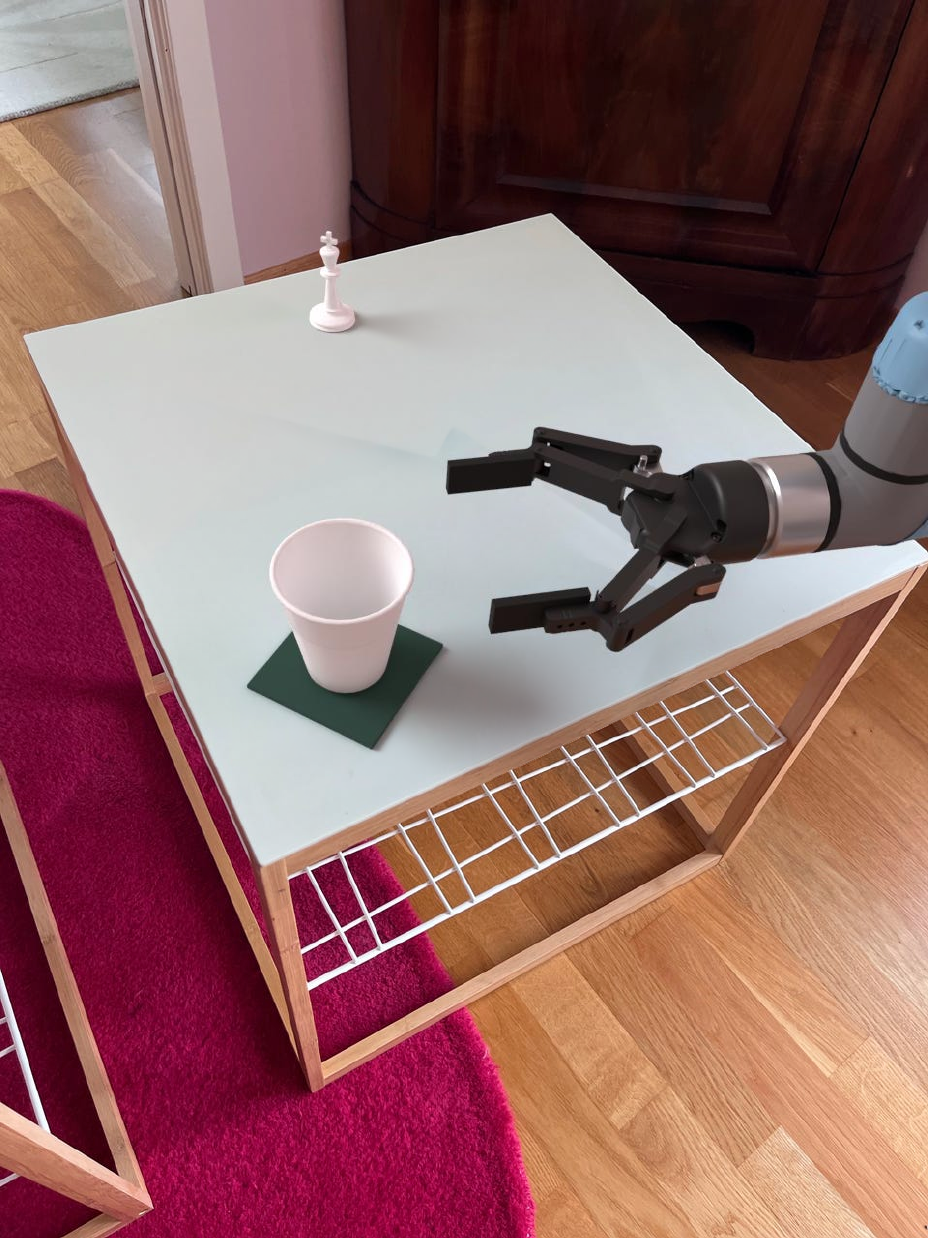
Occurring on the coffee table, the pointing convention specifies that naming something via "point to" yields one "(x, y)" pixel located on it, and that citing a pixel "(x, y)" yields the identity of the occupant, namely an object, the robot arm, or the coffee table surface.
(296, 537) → the cup
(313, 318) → the chess piece
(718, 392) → the coffee table surface
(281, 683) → the mat
